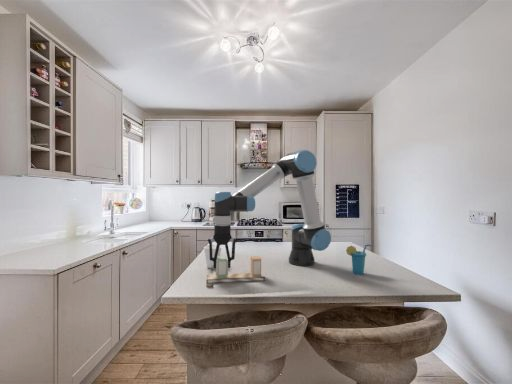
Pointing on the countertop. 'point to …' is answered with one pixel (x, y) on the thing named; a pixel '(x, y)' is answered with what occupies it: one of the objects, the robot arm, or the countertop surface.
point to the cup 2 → (357, 259)
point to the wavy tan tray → (232, 278)
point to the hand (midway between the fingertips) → (221, 274)
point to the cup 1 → (207, 253)
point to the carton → (222, 267)
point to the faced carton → (255, 266)
